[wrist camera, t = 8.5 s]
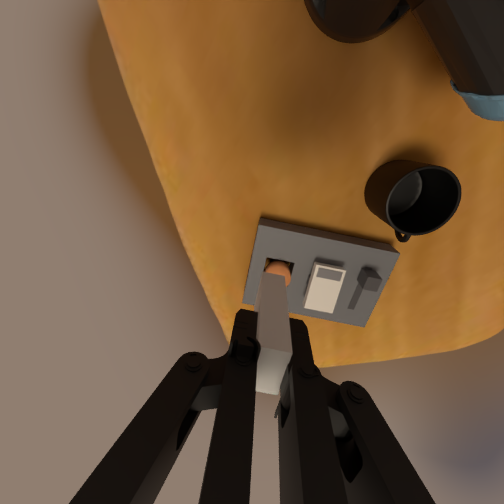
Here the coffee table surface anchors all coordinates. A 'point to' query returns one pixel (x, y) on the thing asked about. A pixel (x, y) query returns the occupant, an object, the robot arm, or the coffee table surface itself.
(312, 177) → the coffee table surface
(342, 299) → the panel
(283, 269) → the button
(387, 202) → the mug
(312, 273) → the rocker
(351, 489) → the robot arm
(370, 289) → the slider
